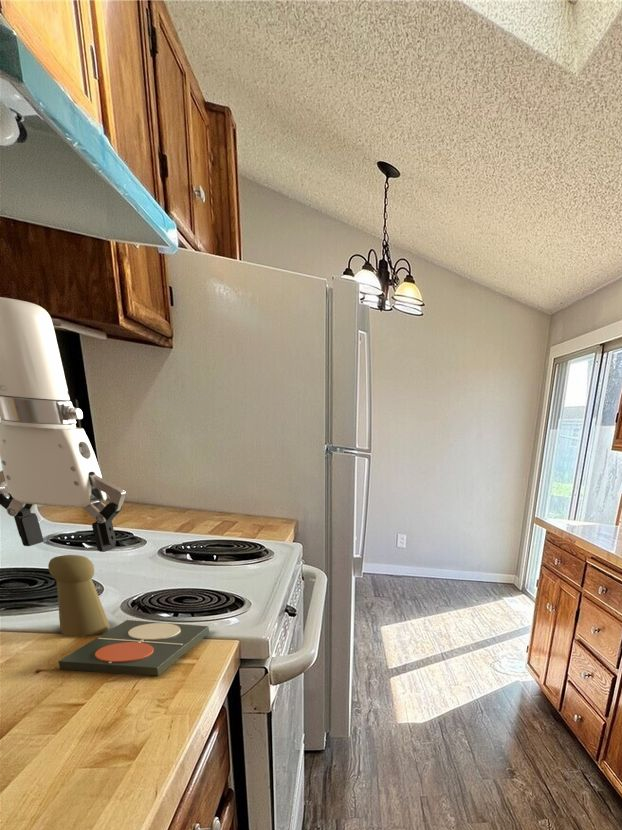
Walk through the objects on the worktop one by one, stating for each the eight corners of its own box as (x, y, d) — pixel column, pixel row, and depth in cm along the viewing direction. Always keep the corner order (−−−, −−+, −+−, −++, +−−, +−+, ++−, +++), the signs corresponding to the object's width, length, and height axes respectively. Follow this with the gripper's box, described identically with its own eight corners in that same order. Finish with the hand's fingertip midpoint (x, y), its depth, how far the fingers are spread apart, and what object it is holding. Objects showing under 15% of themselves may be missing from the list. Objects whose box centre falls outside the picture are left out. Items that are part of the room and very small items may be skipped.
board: (60, 669, 72) (57, 659, 71) (128, 627, 86) (126, 618, 85) (158, 676, 73) (156, 666, 72) (209, 633, 87) (208, 624, 87)
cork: (49, 631, 81) (30, 557, 77) (87, 619, 87) (71, 549, 82) (83, 638, 80) (66, 564, 76) (119, 626, 86) (105, 555, 81)
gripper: (125, 420, 75) (149, 546, 83) (-14, 406, 74) (23, 536, 81) (91, 421, 69) (120, 558, 76) (-62, 406, 67) (-17, 548, 74)
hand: (70, 546), depth 79 cm, fingers open, 9 cm apart
